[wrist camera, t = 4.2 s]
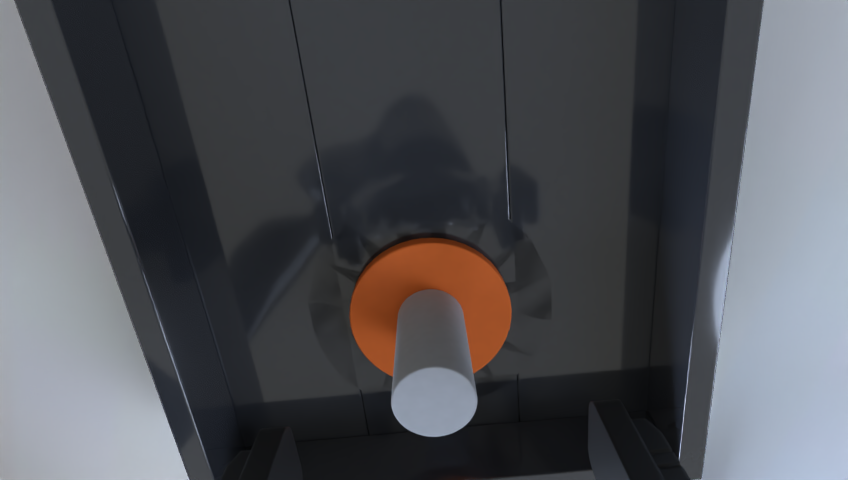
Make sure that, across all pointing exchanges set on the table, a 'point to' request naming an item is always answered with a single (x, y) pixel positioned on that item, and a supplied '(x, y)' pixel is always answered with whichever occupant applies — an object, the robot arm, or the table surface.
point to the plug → (431, 328)
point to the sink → (412, 186)
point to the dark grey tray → (407, 451)
